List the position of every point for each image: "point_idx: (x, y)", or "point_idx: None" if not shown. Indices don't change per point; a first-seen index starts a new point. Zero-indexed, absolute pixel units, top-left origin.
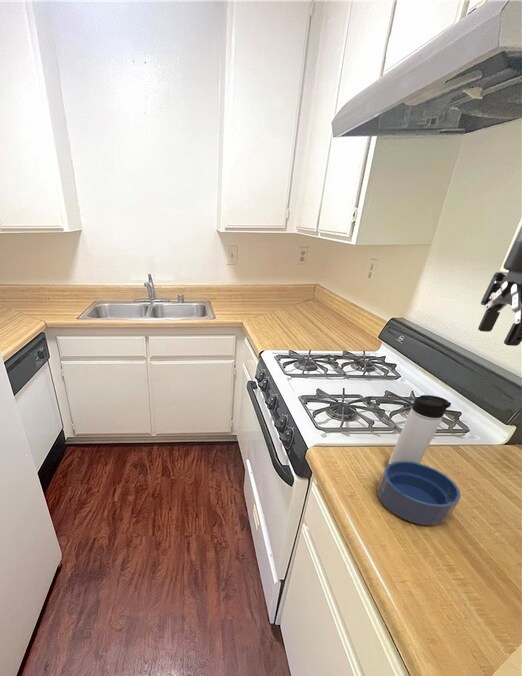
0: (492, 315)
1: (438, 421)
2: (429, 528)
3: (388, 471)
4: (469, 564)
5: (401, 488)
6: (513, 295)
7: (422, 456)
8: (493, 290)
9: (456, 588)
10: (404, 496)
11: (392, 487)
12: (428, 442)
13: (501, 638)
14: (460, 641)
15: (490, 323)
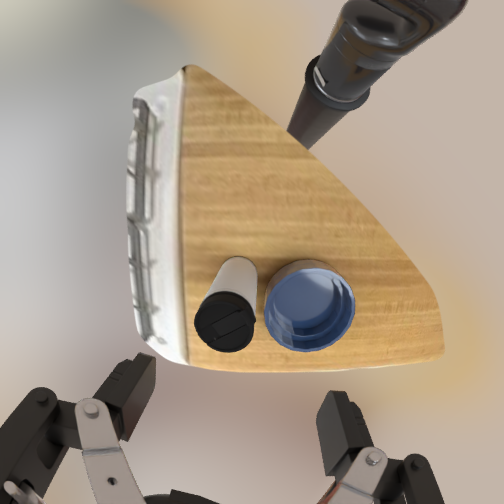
0: (130, 416)
1: (253, 305)
2: None
3: (274, 330)
4: (388, 287)
5: (283, 300)
6: None
7: (254, 276)
8: (43, 476)
9: (403, 314)
10: (331, 344)
11: (314, 350)
12: (254, 288)
13: (435, 305)
14: (428, 334)
15: (143, 387)
